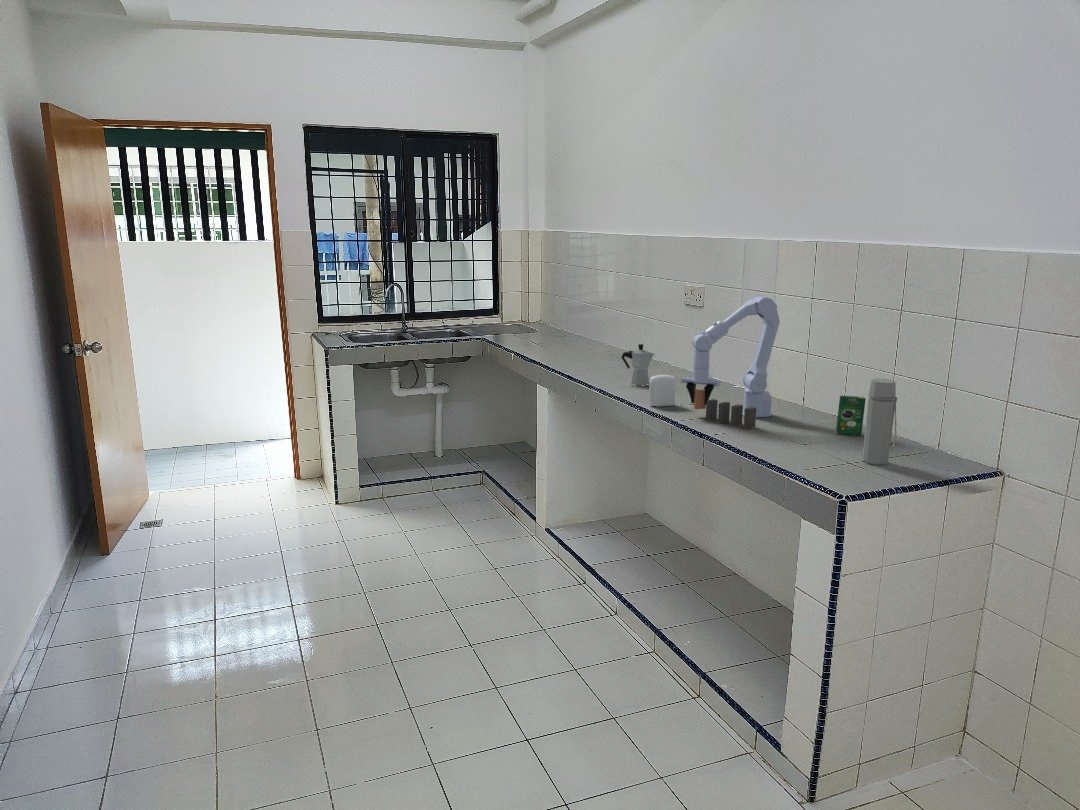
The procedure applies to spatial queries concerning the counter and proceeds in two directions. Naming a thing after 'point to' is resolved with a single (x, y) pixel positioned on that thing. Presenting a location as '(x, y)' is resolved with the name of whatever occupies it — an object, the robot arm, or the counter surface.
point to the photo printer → (662, 390)
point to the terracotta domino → (699, 399)
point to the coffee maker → (639, 365)
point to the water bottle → (879, 421)
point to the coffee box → (850, 415)
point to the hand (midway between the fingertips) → (699, 403)
